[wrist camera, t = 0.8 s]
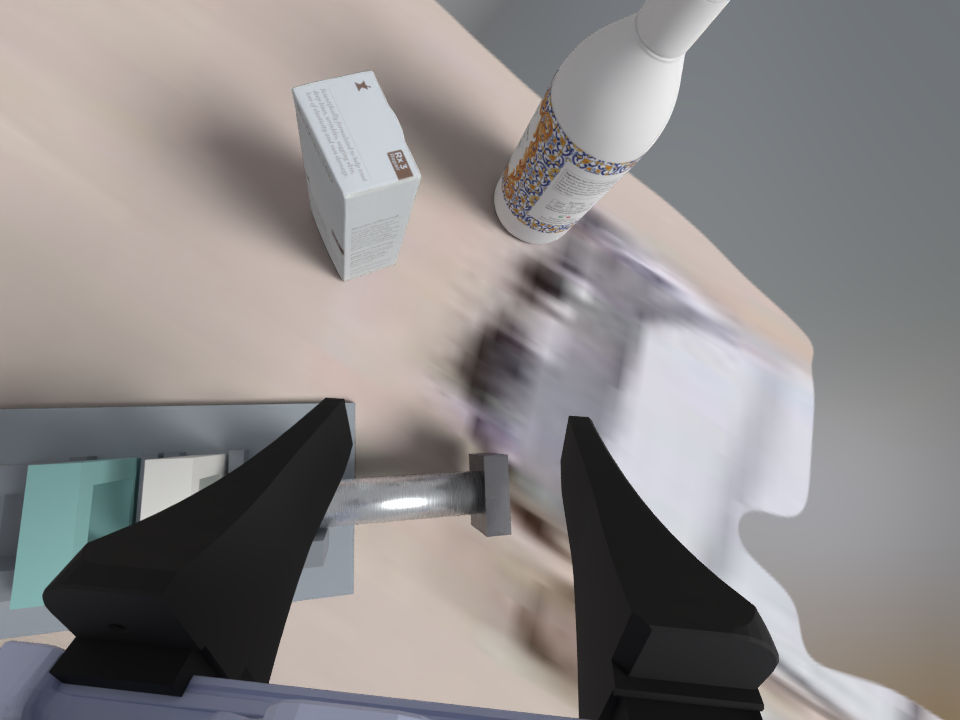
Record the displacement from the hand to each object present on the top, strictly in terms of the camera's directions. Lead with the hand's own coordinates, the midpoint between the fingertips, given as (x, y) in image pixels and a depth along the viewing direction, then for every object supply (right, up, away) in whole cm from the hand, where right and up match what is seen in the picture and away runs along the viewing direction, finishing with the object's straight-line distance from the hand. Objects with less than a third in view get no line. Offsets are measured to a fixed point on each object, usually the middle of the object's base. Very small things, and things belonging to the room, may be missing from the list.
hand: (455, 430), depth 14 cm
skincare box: (-8, +11, +18) cm, 23 cm away
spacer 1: (-20, -6, +11) cm, 24 cm away
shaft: (-6, -6, +14) cm, 16 cm away
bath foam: (+5, +15, +22) cm, 27 cm away
